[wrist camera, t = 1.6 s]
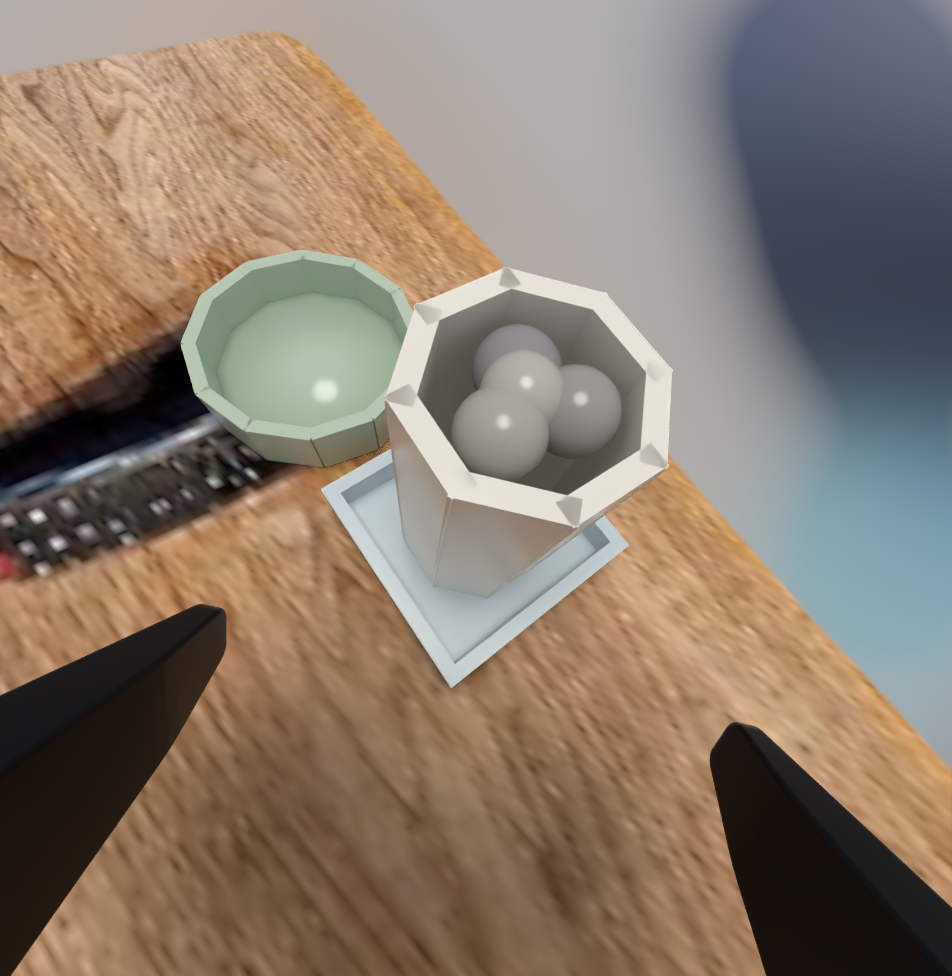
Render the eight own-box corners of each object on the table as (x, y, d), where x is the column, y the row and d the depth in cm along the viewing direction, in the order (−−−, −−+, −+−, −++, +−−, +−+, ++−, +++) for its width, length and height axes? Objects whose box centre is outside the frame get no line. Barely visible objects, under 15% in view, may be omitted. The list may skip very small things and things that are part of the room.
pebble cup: (525, 607, 20) (676, 545, 8) (392, 577, 20) (353, 469, 8) (545, 484, 22) (685, 297, 10) (425, 455, 22) (433, 232, 10)
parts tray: (606, 556, 22) (629, 545, 20) (447, 683, 19) (451, 688, 17) (490, 411, 24) (498, 386, 22) (331, 507, 21) (320, 489, 19)
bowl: (402, 478, 22) (400, 452, 19) (185, 448, 21) (149, 417, 18) (430, 313, 26) (432, 271, 23) (246, 282, 25) (224, 236, 22)
